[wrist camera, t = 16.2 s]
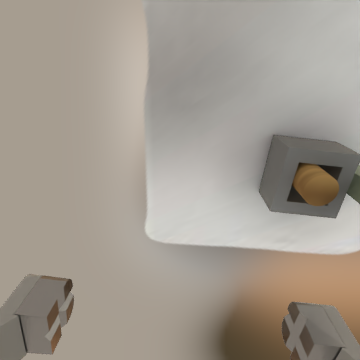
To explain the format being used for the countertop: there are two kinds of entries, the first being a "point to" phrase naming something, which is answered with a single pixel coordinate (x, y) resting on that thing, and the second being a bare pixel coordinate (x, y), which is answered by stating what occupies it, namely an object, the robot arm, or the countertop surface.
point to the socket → (287, 165)
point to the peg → (315, 184)
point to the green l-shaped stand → (355, 186)
